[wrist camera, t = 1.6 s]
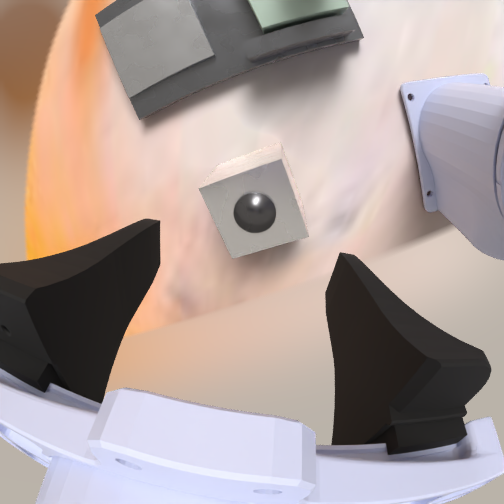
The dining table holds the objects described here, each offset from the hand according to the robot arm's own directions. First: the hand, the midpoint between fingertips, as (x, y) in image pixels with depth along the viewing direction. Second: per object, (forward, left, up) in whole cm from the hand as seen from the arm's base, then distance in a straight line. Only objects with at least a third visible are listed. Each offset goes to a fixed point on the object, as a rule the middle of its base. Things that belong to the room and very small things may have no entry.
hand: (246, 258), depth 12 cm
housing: (0, 0, -10) cm, 10 cm away
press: (+12, -1, -9) cm, 15 cm away
